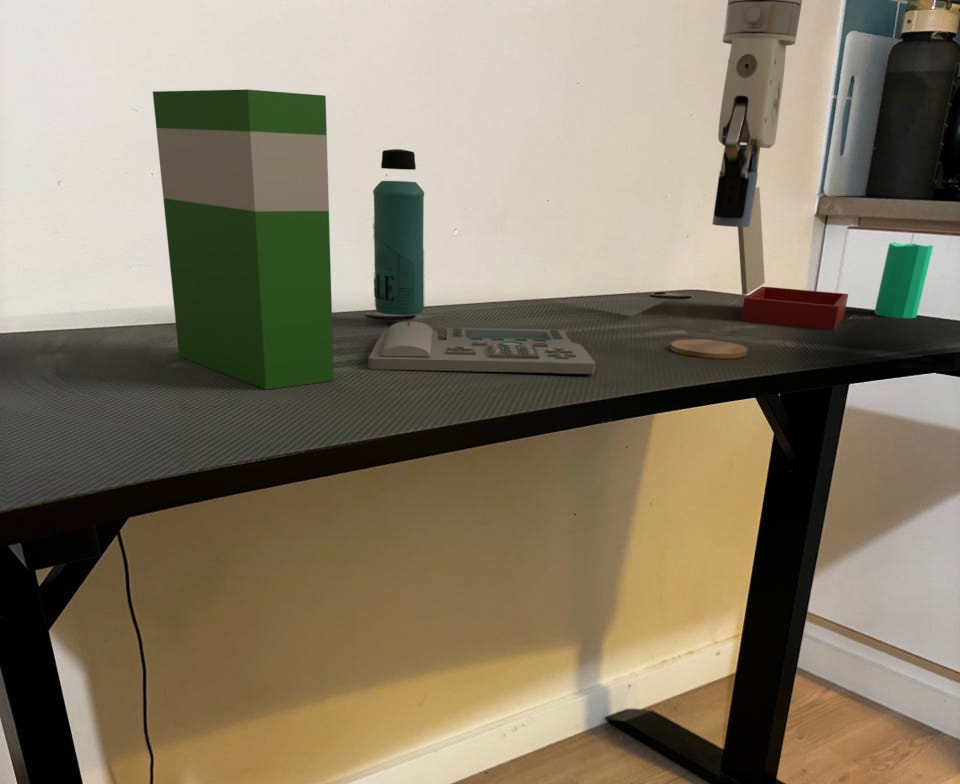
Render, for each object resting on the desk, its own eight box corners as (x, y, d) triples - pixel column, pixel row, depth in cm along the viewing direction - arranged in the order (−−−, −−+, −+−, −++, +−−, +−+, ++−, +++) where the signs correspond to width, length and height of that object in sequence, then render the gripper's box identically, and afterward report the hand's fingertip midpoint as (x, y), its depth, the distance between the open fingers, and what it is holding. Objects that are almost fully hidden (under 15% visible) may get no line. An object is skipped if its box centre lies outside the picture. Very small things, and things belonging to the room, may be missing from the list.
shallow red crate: (843, 320, 142) (848, 293, 140) (832, 335, 129) (838, 306, 127) (757, 312, 146) (762, 286, 144) (739, 325, 133) (744, 297, 132)
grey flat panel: (759, 187, 139) (754, 188, 139) (740, 189, 126) (735, 190, 127) (764, 283, 144) (760, 283, 144) (747, 294, 131) (742, 295, 132)
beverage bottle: (432, 321, 126) (434, 150, 117) (412, 329, 120) (413, 150, 111) (386, 317, 128) (385, 148, 119) (364, 324, 122) (362, 147, 113)
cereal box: (179, 356, 100) (152, 91, 89) (243, 349, 104) (225, 96, 94) (265, 389, 88) (247, 89, 78) (333, 380, 93) (325, 95, 82)
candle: (921, 323, 142) (942, 235, 136) (881, 321, 142) (900, 233, 136) (906, 317, 147) (926, 232, 142) (867, 315, 147) (885, 230, 142)
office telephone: (367, 345, 97) (380, 313, 115) (368, 371, 98) (380, 336, 116) (597, 350, 98) (574, 318, 116) (594, 376, 99) (572, 340, 117)
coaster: (752, 349, 117) (753, 344, 117) (739, 361, 110) (740, 356, 109) (679, 341, 120) (680, 336, 120) (662, 353, 113) (662, 347, 112)
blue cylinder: (752, 225, 111) (760, 172, 108) (746, 227, 107) (754, 172, 105) (716, 223, 112) (723, 170, 110) (708, 224, 109) (716, 170, 106)
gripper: (785, 16, 93) (753, 222, 101) (807, 36, 107) (777, 216, 115) (708, 16, 95) (683, 217, 104) (739, 35, 109) (714, 211, 118)
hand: (732, 214), depth 109 cm, fingers closed on blue cylinder, 4 cm apart
